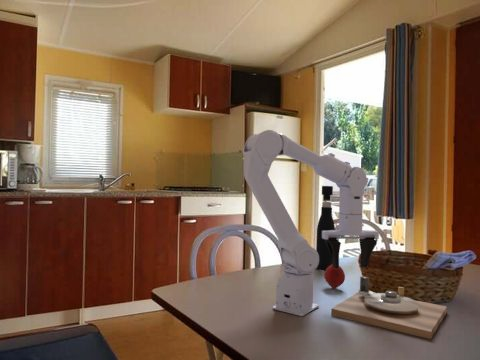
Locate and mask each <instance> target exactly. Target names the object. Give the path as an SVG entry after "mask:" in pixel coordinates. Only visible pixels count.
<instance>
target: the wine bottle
mask: <svg viewBox="0 0 480 360" xmlns="http://www.w3.org/2000/svg"><path fill="white" fill-rule="evenodd" d="M333 193H334V186H333V185H321V195H322V196H323V198H322V199H323V202H322V203H321V204H322V205H321V209H320V210H321V214H320V217H319V219H318V221H317V222H318V223H317V226H316V227H317V228H316V246H315V247H316V248H315V250H316V251H317V252H318V255H319V264H318V266H317V268H316V269H315V270H318V271H322V270H323V272H325V271H326V269H327V268H328V267H329V266H330V265H332V259H331V255H330V252H329V250H328V247H327V245H326V243H325V240H324V239H323V238H322V231H330V230H336V227H335V222H334V217H333V206H332V202H331V200H332V199H331V198H332V197H331V196H333Z"/></svg>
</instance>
